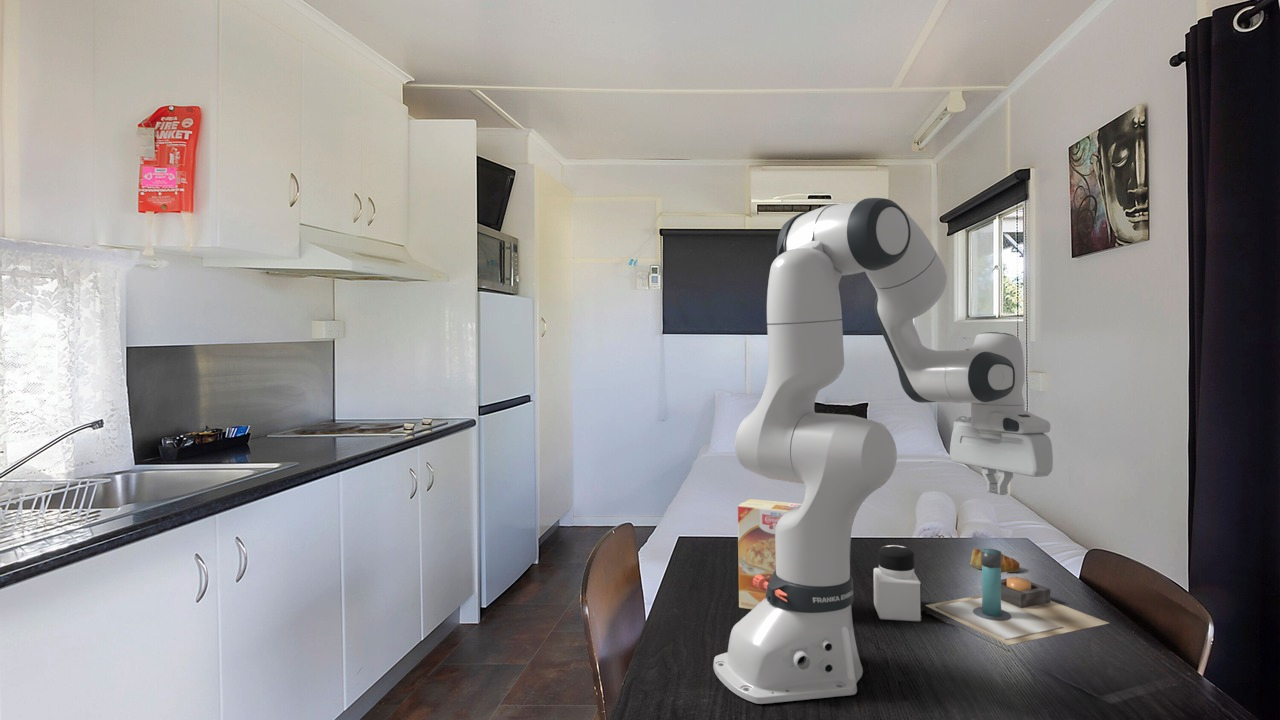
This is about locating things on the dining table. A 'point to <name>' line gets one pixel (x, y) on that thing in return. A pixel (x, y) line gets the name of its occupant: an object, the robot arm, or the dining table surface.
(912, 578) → the medicine bottle
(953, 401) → the robot arm
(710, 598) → the dining table surface
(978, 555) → the pastry
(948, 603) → the beige board with holder
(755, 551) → the coffeecake box
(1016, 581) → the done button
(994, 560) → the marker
